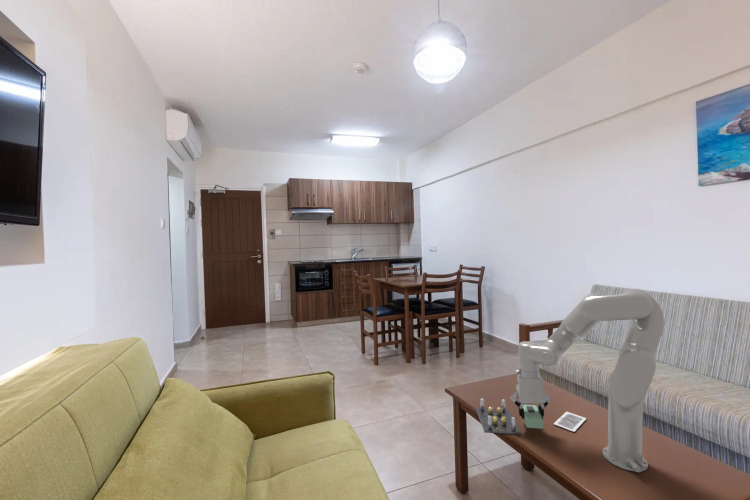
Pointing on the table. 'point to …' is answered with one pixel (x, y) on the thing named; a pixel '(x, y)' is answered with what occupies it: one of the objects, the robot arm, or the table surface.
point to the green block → (532, 417)
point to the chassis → (497, 419)
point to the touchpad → (570, 421)
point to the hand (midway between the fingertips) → (531, 417)
